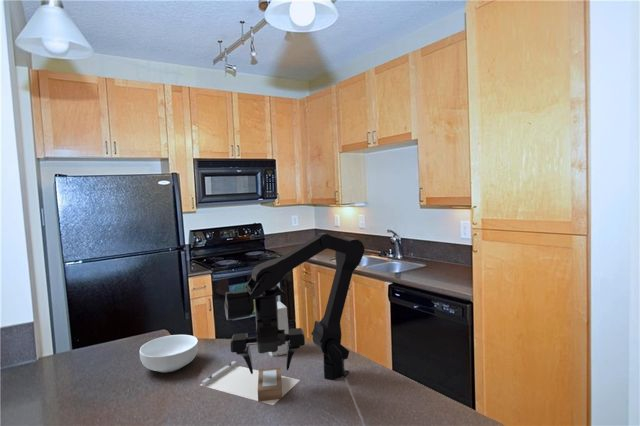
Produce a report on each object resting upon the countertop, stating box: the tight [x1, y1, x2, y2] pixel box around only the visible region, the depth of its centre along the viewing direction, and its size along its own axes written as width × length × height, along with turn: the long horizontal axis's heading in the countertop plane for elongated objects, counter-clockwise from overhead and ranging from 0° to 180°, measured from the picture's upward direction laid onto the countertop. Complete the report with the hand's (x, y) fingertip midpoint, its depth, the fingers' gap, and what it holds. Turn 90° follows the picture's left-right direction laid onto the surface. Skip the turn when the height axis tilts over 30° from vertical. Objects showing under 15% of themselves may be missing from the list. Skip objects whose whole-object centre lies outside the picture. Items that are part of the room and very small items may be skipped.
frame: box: [257, 367, 283, 402], centre depth 100 cm, size 11×6×3 cm, turn 8°
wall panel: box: [200, 360, 301, 406], centre depth 104 cm, size 13×24×2 cm, turn 63°
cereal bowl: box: [139, 334, 199, 374], centre depth 117 cm, size 17×17×7 cm
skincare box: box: [267, 301, 289, 357], centre depth 124 cm, size 8×7×16 cm
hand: (269, 371), depth 100 cm, fingers open, 9 cm apart
